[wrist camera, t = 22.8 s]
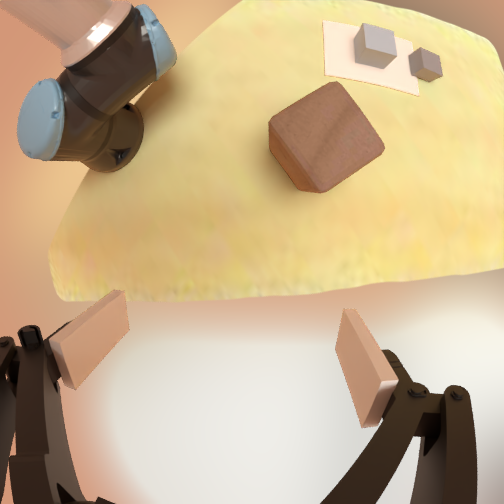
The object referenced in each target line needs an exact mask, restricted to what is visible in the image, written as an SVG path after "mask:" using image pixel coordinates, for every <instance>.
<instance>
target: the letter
mask: <svg viewBox="0 0 504 504" xmlns="http://www.w3.org/2000/svg"><path fill="white" fill-rule="evenodd" d="M359 29H360V27H358V26H353V25H348V24H343V23H337V22H332V21H325V20H323V37H324V64H325V75H326V76H332V77H339V78H345V79H350V80H356V81H361V82H366V83H370V84H375V85H379V86H383V87H387V88H391V89H395V90H399V91H402V92H406V93H409V94H412V95H416V96H419V89H418V80H417V77H415V76H413V75H411V71H410V63H409V56H408V55H410V54H411V53H413V46H412V42H410V41H407V40H404V39H401V38H398V37H395V36H394V37H395V43H396V50H397V57H396V58H395V59H394V60H393V61H392V62H391V63H390V64H389V65H388V66H387V67H386V68H385V69H380V68H376V67H372V66H368V65H363V64H359V63H355V51H354V38H355V36H356V34H357V33H358V31H359Z"/></svg>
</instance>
